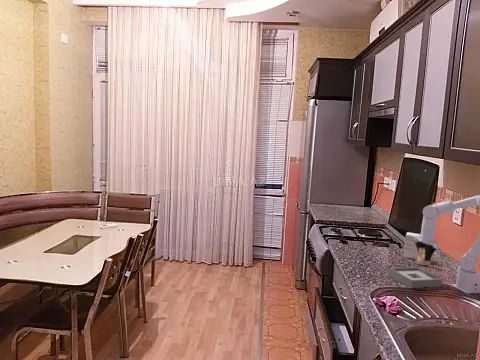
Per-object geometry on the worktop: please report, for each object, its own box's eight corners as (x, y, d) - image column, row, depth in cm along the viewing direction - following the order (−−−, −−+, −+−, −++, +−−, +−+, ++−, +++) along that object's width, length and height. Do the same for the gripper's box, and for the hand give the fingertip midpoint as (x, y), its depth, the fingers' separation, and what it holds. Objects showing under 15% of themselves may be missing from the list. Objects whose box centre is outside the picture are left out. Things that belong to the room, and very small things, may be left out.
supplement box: (404, 253, 237) (407, 231, 235) (418, 256, 233) (421, 234, 232) (402, 256, 230) (405, 234, 228) (417, 259, 227) (420, 236, 225)
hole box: (441, 286, 187) (442, 279, 186) (410, 288, 182) (411, 280, 182) (416, 274, 202) (417, 267, 202) (388, 275, 198) (389, 267, 197)
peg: (430, 264, 196) (432, 250, 195) (423, 264, 194) (425, 250, 194) (424, 261, 199) (426, 247, 198) (417, 261, 198) (419, 247, 197)
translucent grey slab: (415, 263, 219) (417, 248, 218) (414, 262, 221) (416, 248, 220) (429, 266, 216) (431, 251, 215) (429, 265, 218) (431, 250, 217)
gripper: (410, 226, 201) (406, 254, 202) (431, 234, 187) (427, 264, 189) (422, 226, 203) (419, 254, 204) (444, 235, 189) (440, 264, 190)
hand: (424, 259), depth 197 cm, fingers closed on peg, 4 cm apart
